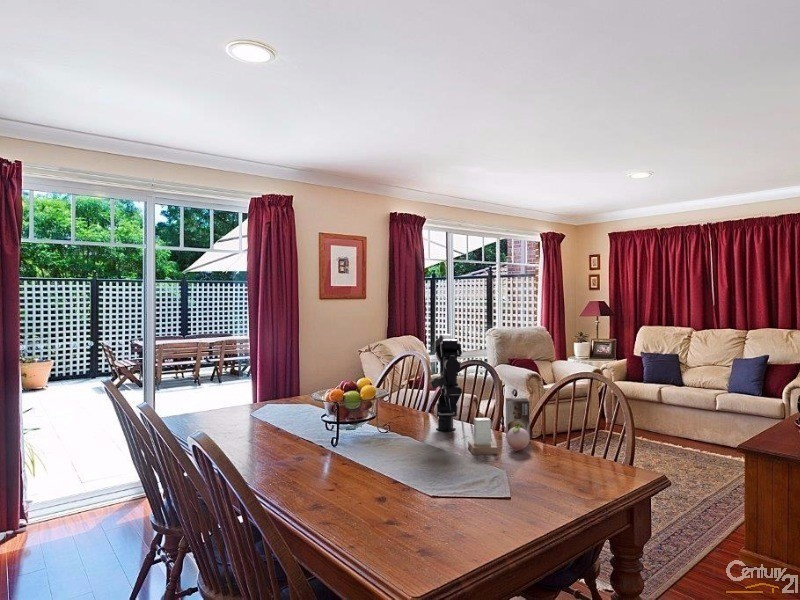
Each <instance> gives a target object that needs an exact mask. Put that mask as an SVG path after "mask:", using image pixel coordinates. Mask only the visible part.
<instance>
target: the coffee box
mask: <svg viewBox="0 0 800 600" xmlns="http://www.w3.org/2000/svg"><path fill="white" fill-rule="evenodd" d="M517 425H518V426H520V427H521V428H523V429H525V430H526V431H527V432H528V434H529V441H531V439H530V438H531V437H530V436H531V435H530V434H531V433H530V432H531V430H530V401H529V399H528V398H525V397H507V398H506V397H505V437H506V438H507V434H508V431H509V430H510V429H511V428H514V427H515V426H517Z"/></svg>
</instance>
